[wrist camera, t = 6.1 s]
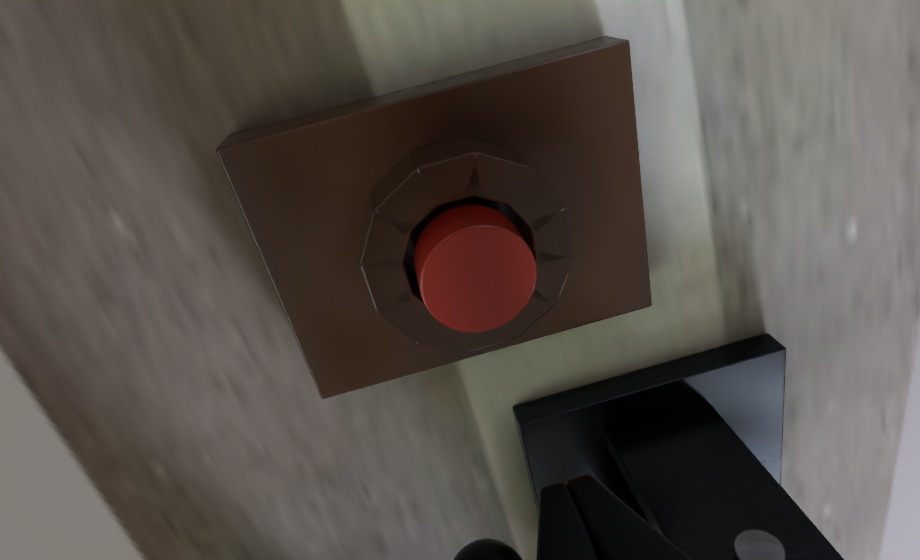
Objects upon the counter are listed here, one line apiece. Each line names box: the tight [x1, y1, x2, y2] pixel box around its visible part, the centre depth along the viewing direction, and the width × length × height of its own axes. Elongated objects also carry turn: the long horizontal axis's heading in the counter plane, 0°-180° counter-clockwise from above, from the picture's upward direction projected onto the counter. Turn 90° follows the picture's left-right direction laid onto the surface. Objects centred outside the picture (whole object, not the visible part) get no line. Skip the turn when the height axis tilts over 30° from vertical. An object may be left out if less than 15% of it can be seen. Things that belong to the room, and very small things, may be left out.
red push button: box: [414, 205, 537, 332], centre depth 17 cm, size 3×3×2 cm
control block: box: [216, 36, 652, 399], centre depth 19 cm, size 12×9×4 cm
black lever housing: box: [513, 333, 844, 560], centre depth 22 cm, size 11×8×10 cm
